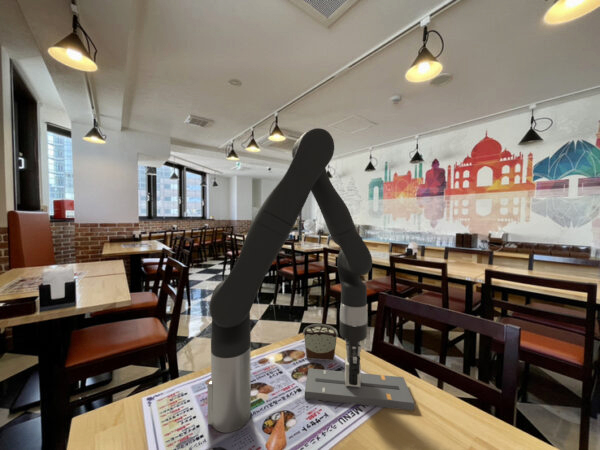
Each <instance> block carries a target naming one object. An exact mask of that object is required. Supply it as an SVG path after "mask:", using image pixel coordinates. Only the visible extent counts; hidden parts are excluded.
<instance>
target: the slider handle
mask: <svg viewBox="0 0 600 450" xmlns="http://www.w3.org/2000/svg"><path fill="white" fill-rule="evenodd" d="M348 368H349V363H348V362H347V356H345V358H344V372H345V386H354V387H360V377H361V373H362V372H361V369H362V368H361V364H360V365H359V374H357V385H350V384H349V370H348Z"/></svg>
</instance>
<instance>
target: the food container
mask: <svg viewBox="0 0 600 450" xmlns="http://www.w3.org/2000/svg"><path fill="white" fill-rule="evenodd" d="M302 336H304V338H303V339H304V345H305V347H304V348H305V354H306V355H305V357H306V360H315V359H319V360H318V361H330V362H331V361H332V362H333V361H335V355H336V354H335V353H336V345H337V338H338V339H339V333H338V330H337V329H336V328H335V327H333V326H332V325H328V324H324V323H315V324H310V325H308V326H305V328H304V329H303V331H302Z"/></svg>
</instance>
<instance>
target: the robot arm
mask: <svg viewBox="0 0 600 450" xmlns="http://www.w3.org/2000/svg"><path fill="white" fill-rule="evenodd" d="M334 141H335V140H334V138H333V136H332V134H331V133H330V132H329V131H327V130H326V129H324V128H320V127H319V128H318V127H316V128H315V127H314V128H311V129H309V130H306V131H305V132H304V133H303V134H302V135H301V136H299V138H298V139H297V140H296V141H295V142H294V144H293V146H292V150H291V156H292V160H291V162H290V164H289V166H288V168H287V171H286V172H285V173H284V175H283V176H282V178H281V179H280V181H279V182H278V183H277V184H276V186H275V187H274V188H273V189H272V191H271V192H270V193H269V195H268V196H267V197H266V198H265V200H264V202H263V203H262V205H261V207H260V208H259V210H258V212H257V214H256V216H255V217H254V219H253V221H252V222H251V225H250V227H249V229H248V231H247V234H246V236H245V238H244V241H243V245H242V246H241V249H240V253H239V255H238V258H237V260H236V262H235V263H234V265H233V267H232V269H231V271H230V272H229V273H228V275H227V277H226V279H224V280H223V281H221V282H219V283H218V284H217V285H216V286H215V287H214V289H213V291H212V295H211V298H210V301H209V313H210V317H211V334H210V335H211V336H210V380H209V382H208V383H207V424H208V425H211V426H212V427H213V429H214V430H216V431H217V432H220V433H225V434H226V433H227V434H228V433H233V432H235V431H238V430H240V429H242V428H243V427H244V426H245V425H246V424H247V423H248V422H249V420H250V419H251V418H250V417H251V413H252V412H251V408H252V405H251V404H252V402H251V401H252V400H251V397H252V396H251V395H252V394H251V393H252V390H251V388H252V387H251V386H252V384H251V383H252V379H251V378H252V377H251V376H252V375H251V373H252V372H251V370H252V367H251V365H252V364H251V361H252V359H251V357H252V356H251V353H252V351H251V347H252V346H251V344H252V343H251V339H252V338H251V336H252V335H251V334H252V333H251V309H252V307H253V305H254V302H255V300H256V296H257V294H258V293H259V291H260V290H259V289H260V288H261V285H262V283H263V281H264V279H265V277H266V275H267V273H268V271H269V269H270V268H271V266H272V265H273V263H274V261H275V260H276V259H277V257H278V255H279V253H280V251H281V250H282V248H283V246H284V245H285V243H286V241H287V239H288V238H289V237H290V234H291V232H292V230H293V228H294V227H295V224H296V222H297V221H298V218H299V216H300V214H301V212H302V210H303V208H304V206H305V203H306V201H307V199H308V198H309V195H310V192H311V193H312V195H313V198H314V200H315V201H316V203H317V205H318V207H319V210H320V213H321V215H322V217H323V220H324V222H325V225H326V228H327V230H328V232H329V235H330V237H331V239H332V241H333V243H335V244H336V245H338V246H339V247H340V248H339V249H340V251H339V253H338V256H337V260H336V261H337V262H336V263H337V264H336V265H337V272H338V278H339V282H340V287H341V288H340V289H341V290H340V308H339V335H340V336H341V338H343V339H344V340H345V350H346V351H345V352H346V357H347V362H348V363H349V368H348V370H349V384H350V385H357V374H359V365H361V352H362V347H361V346H362V345H361V341H364V340H366V339H367V337H368V306H367V305H368V304H367V303H368V301H367V299H368V298H367V297H368V289H367V285H366V283H364V282H363V280H362V278H361V276H365V275H367V274H368V273H369V272H370V271H371V269H372V267H373V256H372V254H371V251H370V250H369V248H368V246H367V244H366V242H365V241H364V240H363V238H362V237H361V235H360V234H359V232H358V230H357V229H356V226H355V223H354V220H353V217H352V215H351V212H350V209H349V208H348V206H347V204H346V202H345V201H344V200H343V199H342V197H341V195H340V194H339V193H338V192H337V190H336V188H335V187H334V185H333V183H332V182H331V179H330V178H329V175H328V172H327V166H328V165H329V164H330V162H331V160H332V158H333V155H334V152H335V142H334Z"/></svg>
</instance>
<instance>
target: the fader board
mask: <svg viewBox="0 0 600 450" xmlns="http://www.w3.org/2000/svg"><path fill="white" fill-rule="evenodd" d="M306 375H307V376H306V382H305V387H304V399H305V400H314V401H315V400H317V401H324V402H335V403H340V404H351V405H359V404H361V406H368V405H369V406H371V407H379V408H385V409H387V408H388V409H396V410H405V411H413V412H414V411H415V401H414V399H413V396H412V394H411V392H410V389H409V387H408V384H407V382H406V380H405V377H404V376H397V375H396V376H395V375H383V374H372V373H362V372H361V377H360V387H354V386H345V371H341V370H340V371H339V370H330V369H320V368H309V367H308V371H307V374H306Z"/></svg>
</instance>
